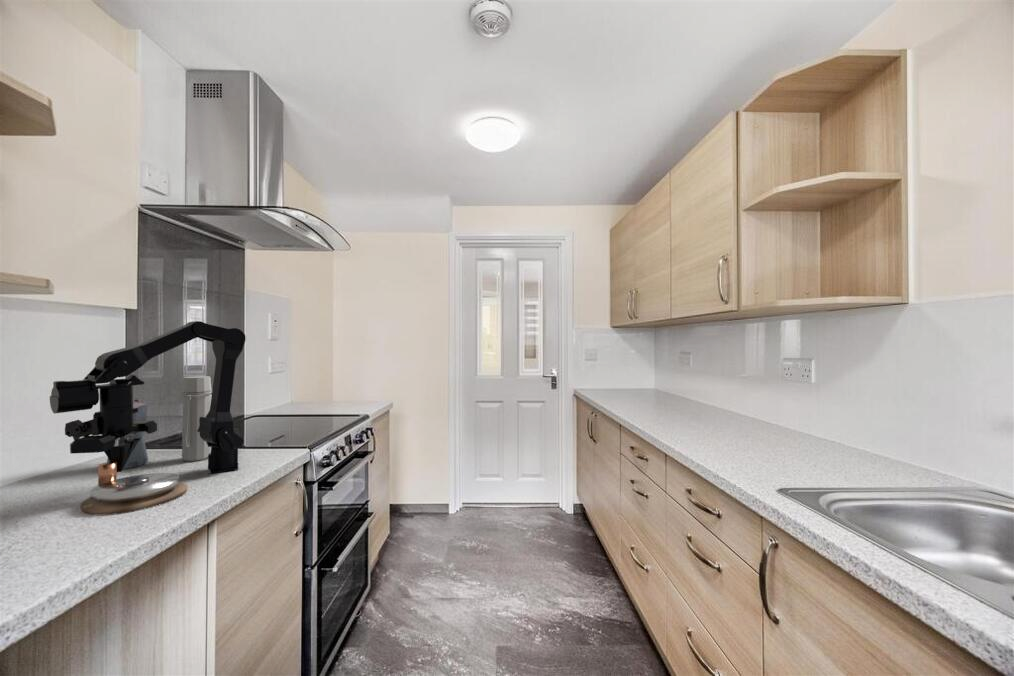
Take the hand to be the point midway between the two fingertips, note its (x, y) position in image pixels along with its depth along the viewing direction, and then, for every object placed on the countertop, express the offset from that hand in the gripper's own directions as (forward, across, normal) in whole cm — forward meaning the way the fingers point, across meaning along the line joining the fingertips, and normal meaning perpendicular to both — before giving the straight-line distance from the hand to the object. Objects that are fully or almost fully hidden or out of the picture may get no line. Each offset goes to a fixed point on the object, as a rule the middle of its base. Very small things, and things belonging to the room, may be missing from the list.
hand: (118, 471), depth 98 cm
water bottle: (+7, -29, +2) cm, 29 cm away
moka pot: (+6, -26, -15) cm, 30 cm away
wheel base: (+5, +4, +6) cm, 9 cm away
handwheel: (+4, +4, +6) cm, 8 cm away
